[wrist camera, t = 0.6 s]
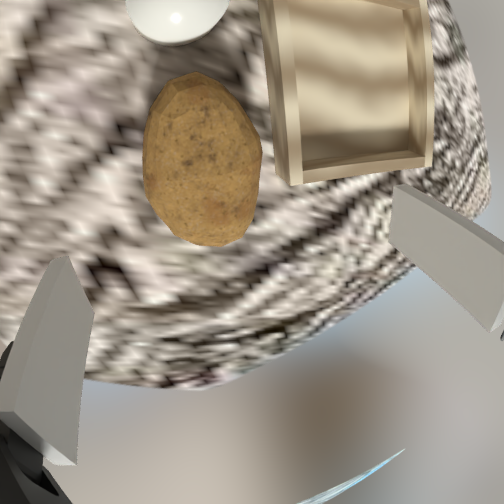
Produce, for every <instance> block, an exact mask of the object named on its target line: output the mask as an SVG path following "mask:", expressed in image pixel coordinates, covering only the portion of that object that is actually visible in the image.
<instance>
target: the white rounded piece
mask: <svg viewBox="0 0 504 504" xmlns="http://www.w3.org/2000/svg"><path fill="white" fill-rule="evenodd" d="M229 1H230V0H125V4H126V10H127V13H128V15H129V17H130V19H131V21H132V23H133V25H134V27H135V29H136V30H137V32H138V33H139V34H140V35H141V36H142V37H144V38H145V39H146V40H148V41H150V42H152V43H155V44H158V45H162V46H181V45H186V44H189V43H192V42H194V41H197V40H199V39H200V38H202V37H203V36H205V35H206V34H207V33H208V32H210V31H211V30H212V28H213V27H214V26H215V25H216V23H217V22H218V21H219V20H220V18H221V17H222V16H223V14H224V13H225V11H226V9H227V7H228V5H229Z"/></svg>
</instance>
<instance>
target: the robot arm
mask: <svg viewBox="0 0 504 504" xmlns="http://www.w3.org/2000/svg"><path fill="white" fill-rule="evenodd" d="M388 242H389V243H390V244H391V245H392V246H393V247H395V248H396V249H397V250H398V251H400V252H401V253H402V254H403V255H404V256H406V257H407V258H408V259H409V260H410V261H411V262H413V263H414V264H415V265H416V266H417V267H418V268H420V269H421V270H422V271H423V272H424V273H426V274H427V275H428V276H429V277H430V278H431V279H432V280H433V281H435V282H436V283H437V284H438V285H439V286H440V287H441V288H442V289H443V290H445V291H446V292H447V293H448V294H449V295H450V296H451V297H452V298H453V299H454V300H455V301H456V302H458V303H459V304H460V305H461V306H462V307H463V308H464V309H465V310H466V311H467V312H468V313H469V314H470V315H471V316H472V317H473V318H474V319H475V320H476V321H477V322H478V323H479V324H480V325H482V327H484V328H485V329H486V331H487V332H489V333H490V332H491V331H493V330H494V329H495V328H497V327H498V326H500V325H501V323H502V321H503V319H504V242H503V241H502V240H500V239H498V238H497V237H496V236H494V235H493V234H491V233H489V232H488V231H486V230H485V229H484V228H482V227H480V226H479V225H477V224H476V223H474V222H473V221H471V220H469V219H468V218H466V217H464V216H463V215H461V214H460V213H458V212H456V211H455V210H453V209H451V208H449V207H448V206H446V205H444V204H443V203H441V202H439V201H437V200H435V199H434V198H432V197H430V196H428V195H426V194H425V193H423V192H421V191H419V190H417V189H415V188H414V187H412V186H410V185H408V184H402V185H396V186H394V188H393V201H392V212H391V222H390V231H389V240H388ZM94 314H95V313H94V311H93V309H92V307H91V305H90V303H89V301H88V299H87V296H86V294H85V292H84V290H83V288H82V286H81V284H80V281H79V279H78V277H77V275H76V272H75V270H74V268H73V266H72V263H71V261H70V258H69V256H68V255H67V256H64V257H60V258H56V259H53V260H51V262H50V263H49V265H48V267H47V269H46V271H45V273H44V275H43V277H42V279H41V281H40V283H39V285H38V287H37V289H36V292H35V294H34V296H33V298H32V300H31V302H30V305H29V307H28V309H27V311H26V314H25V316H24V318H23V321H22V323H21V325H20V328H19V330H18V333H17V335H16V338H15V340H14V341H12V342H11V343H10V344H9V345H8V347H7V348H6V350H5V351H4V352H3V354H2V356H1V359H0V504H72V503H71V501H70V500H69V499H68V497H67V496H66V495H65V493H64V492H63V491H62V489H61V488H60V486H59V485H58V484H57V482H56V481H55V479H54V478H53V477H52V475H51V474H50V472H49V471H48V470H47V469H46V468H45V467H44V466H43V465H42V464H43V456H44V457H45V458H46V459H48V460H49V461H51V462H52V463H53V464H55V465H77V445H78V427H79V415H80V405H81V395H82V386H83V379H84V371H85V365H86V358H87V352H88V346H89V340H90V334H91V329H92V324H93V319H94ZM503 340H504V331H503V333H502V335H501V341H503Z"/></svg>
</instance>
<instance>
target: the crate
mask: <svg viewBox="0 0 504 504" xmlns="http://www.w3.org/2000/svg"><path fill="white" fill-rule="evenodd" d="M258 7H259V15H260V23H261V31H262V40H263V48H264V57H265V66H266V75H267V85H268V94H269V104H270V114H271V125H272V136H273V147H274V158H275V170H276V175H278V176H279V177H280V178H281V179H283V180H284V181H285V182H286V183H288V184H289V185H290V186H294V185H300V184H305V183H312V182H318V181H324V180H330V179H337V178H343V177H350V176H357V175H364V174H372V173H379V172H387V171H395V170H403V169H412V168H421V167H430V166H432V154H433V136H434V69H433V52H432V40H431V30H430V21H429V14H428V7H427V0H258Z"/></svg>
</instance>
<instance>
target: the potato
mask: <svg viewBox="0 0 504 504" xmlns="http://www.w3.org/2000/svg"><path fill="white" fill-rule="evenodd" d="M262 153H263V152H262V147H261V142H260V136H259V134H258V133H257V131H256V129H255V128H254V126H253V124H252V122H251V121H250V119H249V118H248V116H247V114H246V113H245V111H244V110H243V108H242V106H241V105H240V103H239V102H238V100H237V99H236V98H235V97H234V96H233V95H232V94H231V93H230V92H229V91H228V90H227V89H226V88H225V87H224V86H223V85H222V84H221V83H220V82H219V81H217V80H214V79H212V78H210V77H208V76H206V75H203V74H201V73H199V72H197V71H196V72H193V73H190V74H187V75H183V76H180V77H177V78H174V79H172V80H169V81H168V82H167V83H166V85H165V86H164V88H163V89H162V91H161V92H160V94H159V95H158V97H157V98H156V100H155V101H154V103H153V104H152V106H151V108H150V111H149V115H148V118H147V122H146V126H145V131H144V141H143V157H142V161H143V179H144V186H145V193H146V197H147V199H148V201H149V202H150V204H151V206H152V207H153V209H154V210H155V212H156V214H157V215H158V216H159V217H160V218H161V219H162V220H163V221H164V223H165V224H166V225H167V226H168V227H169V228H170V230H171V231H172V232H173V234H174V235H176V236H178V237H180V238H182V239H184V240H187V241H189V242H191V243H193V244H196V245H201V246H221V247H222V246H224V245H226V244H228V243H230V242H233V241H235V240H237V239H239V238H242V237H243V235H244V233H245V231H246V230H247V228H248V226H249V225H250V223H251V221H252V220H253V216H254V211H255V206H256V201H257V196H258V189H259V178H260V168H261V161H262Z"/></svg>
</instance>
